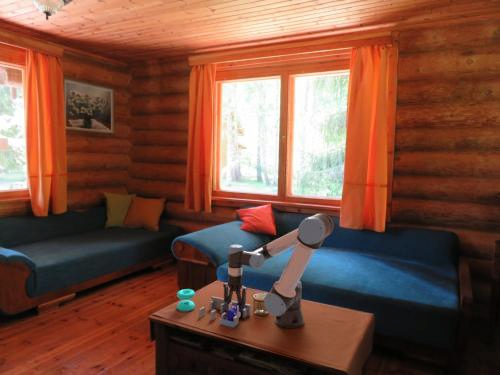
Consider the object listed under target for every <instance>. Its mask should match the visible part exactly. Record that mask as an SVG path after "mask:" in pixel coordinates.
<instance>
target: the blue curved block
mask: <svg viewBox="0 0 500 375" xmlns="http://www.w3.org/2000/svg"><path fill="white" fill-rule="evenodd" d="M236 302H237V306H238V301H236ZM237 306H236V307H234V308H233V310H230V309H228V310H227V311H226V313H227V320H229V321H232V322H233V318H234V317H235V316H236V315H237ZM241 315H243V306H242V311H241Z"/></svg>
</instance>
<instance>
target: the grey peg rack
mask: <svg viewBox="0 0 500 375" xmlns="http://www.w3.org/2000/svg"><path fill="white" fill-rule="evenodd" d="M210 299H211V301H209V311H210V321H214V320H215V319H216V318H217V310H216V309H219V310H220V313H221V316H220V317H221V318H220V319H219V324H220V325H223V326H227V327H231V328H235V327H237V326H238V325H239V320H240V317H239V316H238V315H236V316H235V317H234V318H233V322H232V321H229V320H227V310H228V309H227V302H224V297H223V298H222V297H218V296H215V295H212V296H211V298H210ZM231 302H232V310H233V308H234V307H236V306H237V302H238V301H236V300H232V299H231ZM251 308H252V305H251V304H250V303H249V304H248V303H246V304H245V305H244V306H243V314H242V319H246V318H247V317H250V316H251V313H252V312H251V311H252V309H251ZM225 311H226V312H225ZM205 314H206V312H205V306H202V307H200V308H199V309H198V317H199V318H203V317H204V316H205Z"/></svg>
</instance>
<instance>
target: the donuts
mask: <svg viewBox="0 0 500 375" xmlns="http://www.w3.org/2000/svg"><path fill="white" fill-rule="evenodd" d="M195 295H196V293H195V290H193V289H190V288H185V289H181V290H179V291H177V293H176V296H177V298H178V299H179V300H181V301H179V302H178V303H177V305H176V308H177V310H178V311H180V312H189V311H193V309H195V306H196V304H195V303H194V301H192V300H191V299H193V298H194V297H195Z"/></svg>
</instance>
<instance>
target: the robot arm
mask: <svg viewBox="0 0 500 375" xmlns="http://www.w3.org/2000/svg"><path fill="white" fill-rule="evenodd" d="M333 231H334V222H333V220H332V218H331V217H330V215H328V214H325V213H320V212H319V213H316V214H314V215H311V216H307V217H305V218H304V219H303V220H302V221H301V222H300V224H299V225H298V228H296V229H294V230H293V231H292V230H291V231H290V232H288V233H287V234H284V235H283V236H281V237H279V238H275V239H274V240H271V242H268V243H267V244H265V245H262V246H261V247H259V248H257V249H254V250H251V251H248V250H244V247H243V245H241V244H231V245H229V247H228V253H227V255H228V256H227V257H228V267H227V268H228V269H227V270H228V271H227V273H228V274H227V282H225V283H223V285H222V286H223V299H224V302H227V309H230V310H232V302H231V300H232V299H233V295H234V292H235V295H236V299H237V302H238V306H237V315H238V316H239V318H240V317H241V316H242V314H241V311H242V306H244V305H245V304H247V303H246V302H247V300H246V299H247V290H248V287H247V286H244V285H243V266H245V267H249V268H252V269H261V268H262V267H263V266H264V264H265V261H268V260H269V259H271V258H274V257H276V256H277V255H280V254H283V253H284V252H287V251H288V250H291V249H292V248H294V249H293V251H292V252H291V255H290V257H289V259H288V261H287V263H286V266H285V267H284V269H283V272H282V274H281V276H280V278H279V280H277V281H275V282H274V283H273V285H272V287H271V290H270V291H269V292H268V293H267V294H266V295H265V296H264V299H263V306H264V307H265V310H266V311H267V312H268V313H269V314H270V315H271V316H274V317H275V318H274V319H275V320H274V321H275V324H276V325H278V326H280V327H282V328H286V329H297V328H301V327H302V326H303V325H304V323H305V317H304V314H303V310H302V289H303V287H302V285H303V284H302V282H301V281H300V279H301V278H302V276H303V274H304V273H305V270H306V268H307V265H308V264H309V262H310V260H311V258H312V256H313V254H314V252H315V251H318V250H319V249H320V248H321V245H322V244H323V242H324V240H325V238H326V237H328V236H330V235H331V234H332V232H333Z"/></svg>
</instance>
